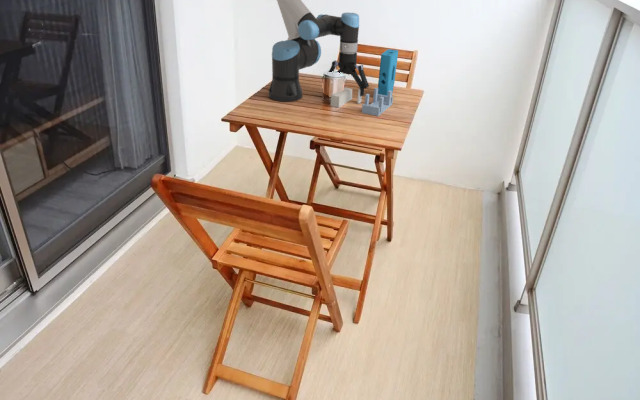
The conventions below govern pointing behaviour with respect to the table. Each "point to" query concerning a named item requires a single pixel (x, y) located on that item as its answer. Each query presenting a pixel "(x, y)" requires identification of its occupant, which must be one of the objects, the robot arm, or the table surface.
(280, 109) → the table surface
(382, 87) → the block
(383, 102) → the rack
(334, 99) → the white rectangular bar
